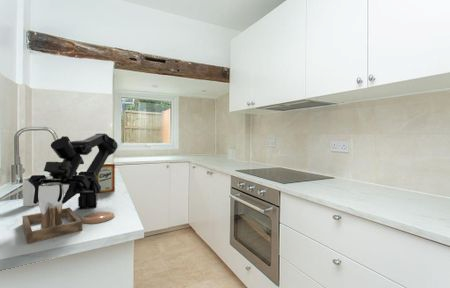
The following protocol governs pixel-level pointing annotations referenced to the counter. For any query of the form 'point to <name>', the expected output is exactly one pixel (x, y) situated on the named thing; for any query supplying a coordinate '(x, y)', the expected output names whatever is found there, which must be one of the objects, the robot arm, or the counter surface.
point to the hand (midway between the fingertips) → (48, 203)
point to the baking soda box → (107, 178)
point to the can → (28, 194)
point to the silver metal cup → (50, 203)
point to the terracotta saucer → (97, 217)
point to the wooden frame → (51, 231)
